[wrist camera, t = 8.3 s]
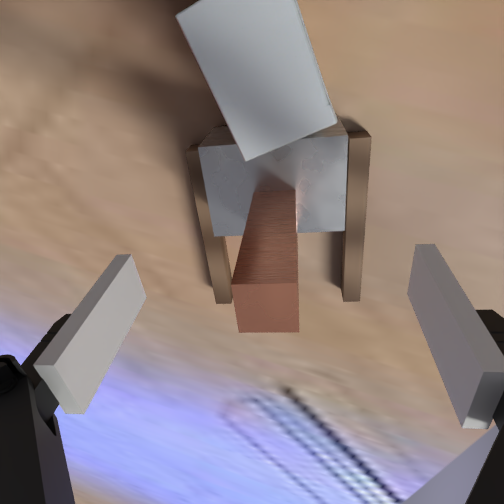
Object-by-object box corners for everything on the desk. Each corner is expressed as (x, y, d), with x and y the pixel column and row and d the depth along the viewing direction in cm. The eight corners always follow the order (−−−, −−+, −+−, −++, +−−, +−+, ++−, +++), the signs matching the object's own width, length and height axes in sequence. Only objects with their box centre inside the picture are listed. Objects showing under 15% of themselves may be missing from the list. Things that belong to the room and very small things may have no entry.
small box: (212, 18, 25) (169, 10, 16) (285, -25, 24) (280, -58, 15) (258, 124, 29) (243, 165, 20) (324, 94, 27) (339, 124, 18)
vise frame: (155, -41, 24) (90, -75, 16) (379, -77, 22) (426, -135, 14) (219, 291, 39) (201, 355, 31) (356, 288, 37) (373, 356, 29)
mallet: (214, 127, 29) (137, 220, 15) (338, 116, 28) (386, 207, 13) (226, 204, 33) (174, 339, 18) (336, 198, 31) (372, 339, 17)
